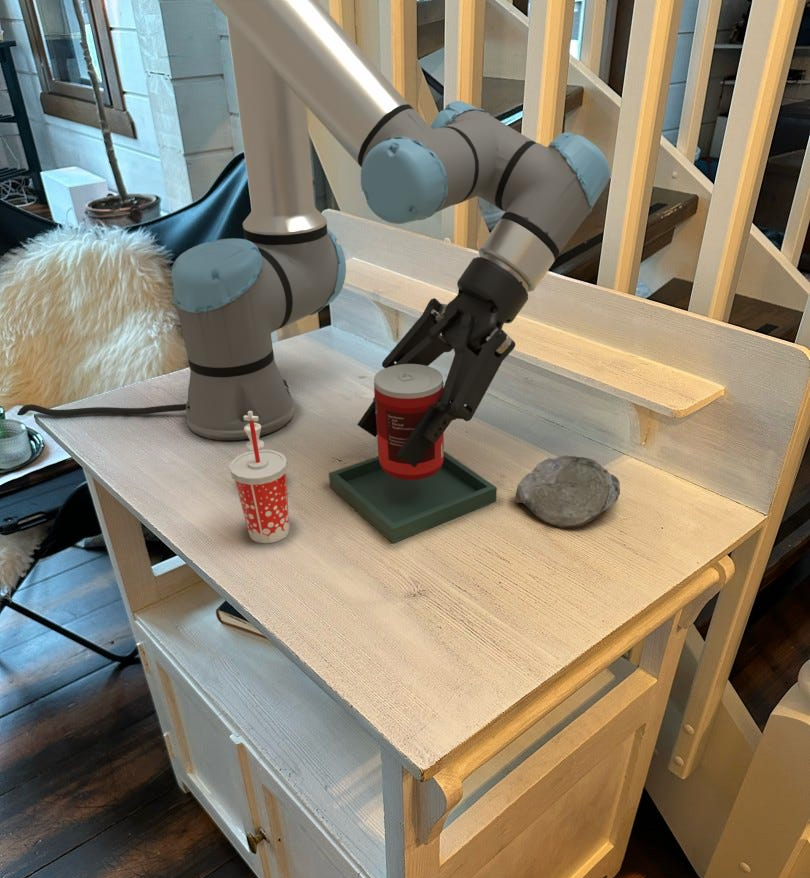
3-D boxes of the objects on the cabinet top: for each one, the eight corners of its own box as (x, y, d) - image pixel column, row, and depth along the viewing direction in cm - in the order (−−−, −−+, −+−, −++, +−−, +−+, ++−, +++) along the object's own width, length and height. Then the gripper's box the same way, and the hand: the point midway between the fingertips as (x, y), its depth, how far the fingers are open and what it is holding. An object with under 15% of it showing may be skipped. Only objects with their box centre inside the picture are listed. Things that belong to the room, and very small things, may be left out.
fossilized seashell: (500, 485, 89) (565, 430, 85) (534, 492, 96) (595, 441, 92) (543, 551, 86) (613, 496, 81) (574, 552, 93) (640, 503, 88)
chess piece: (273, 496, 92) (262, 422, 87) (235, 493, 93) (222, 419, 87) (286, 475, 96) (276, 403, 90) (250, 472, 97) (238, 401, 91)
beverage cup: (303, 518, 88) (288, 409, 80) (286, 549, 84) (270, 437, 75) (253, 514, 89) (234, 406, 81) (234, 545, 84) (212, 433, 76)
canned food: (416, 441, 94) (413, 357, 88) (458, 466, 89) (458, 379, 82) (365, 461, 90) (359, 375, 84) (405, 489, 85) (402, 399, 79)
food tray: (329, 486, 94) (328, 472, 93) (426, 452, 100) (426, 439, 99) (392, 543, 84) (392, 528, 83) (496, 501, 90) (497, 487, 89)
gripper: (584, 320, 79) (457, 498, 81) (466, 272, 93) (362, 425, 96) (549, 278, 73) (414, 470, 76) (430, 234, 88) (320, 397, 91)
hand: (385, 445), depth 86 cm, fingers closed on canned food, 8 cm apart
